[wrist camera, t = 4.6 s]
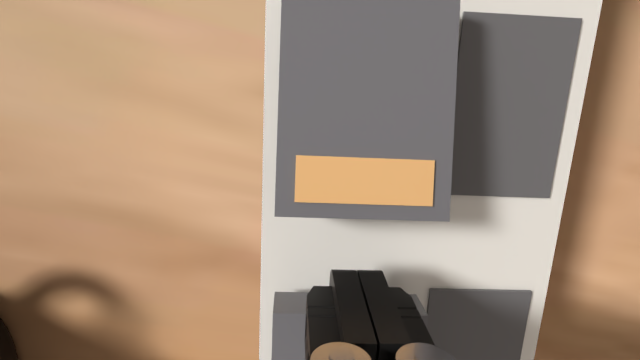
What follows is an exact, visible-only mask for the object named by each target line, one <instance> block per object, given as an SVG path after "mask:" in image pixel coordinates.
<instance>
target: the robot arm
mask: <svg viewBox="0 0 640 360" xmlns="http://www.w3.org/2000/svg"><path fill="white" fill-rule="evenodd" d="M305 360H455V359H454V357H453V356H452V355H451V354H450V353H448V352H447V351H445V350H444V349H442V348H440V347H437V346H435V344H434V342H433V340H432V338H431V336H430V334H429V332H428V330H427V328H426V326H425V324H424V321H423V319H421V315H420V313H419V311H418V310H417V307H416V305H415V303H414V301H413V299H412V297H411V296H410V295H409V294H408V293H406V292H405V291H404V290H403V289H402V288H400V287H389V286H388V284H387V281H386V279H385V276H384V274H383V271H382V270H357V271H356V270H338V269H331V271H330V281H329V286H313V287H312V289H311V290H310V291H309V293H308V294H307V301H306V321H305Z"/></svg>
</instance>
